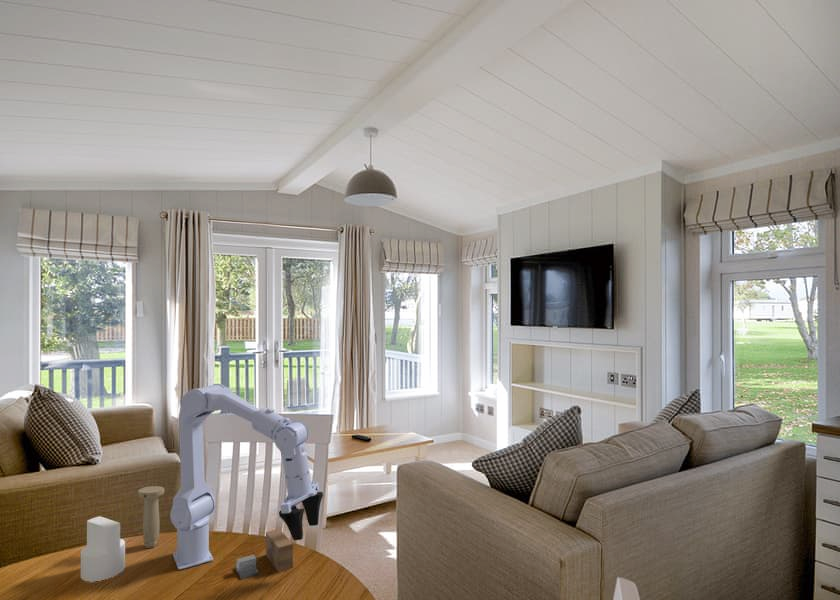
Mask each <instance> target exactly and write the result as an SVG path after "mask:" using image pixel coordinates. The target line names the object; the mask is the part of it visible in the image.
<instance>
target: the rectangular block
mask: <svg viewBox="0 0 840 600" xmlns="http://www.w3.org/2000/svg"><path fill="white" fill-rule="evenodd" d="M293 545H294V543H293V542H292V541H291V540H290V539H289V538H288V537H287V535H286V534H285V533H284V532H283V531H282V530H281V529H280V528H277V529H272V530H269V531H266V532H265V556H266V558H267V559H268V561H270V563H271V562H272V563H271V564H272V565H274V566H273V567H274V569H276V571H277V572H278V573H282V572H284V571H288V570H291V568H292V569H293V568H294V566H293V565H294V560H293V559H294V548H293V547H294V546H293Z"/></svg>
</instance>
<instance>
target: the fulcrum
mask: <svg viewBox="0 0 840 600" xmlns="http://www.w3.org/2000/svg"><path fill="white" fill-rule="evenodd" d="M234 570H235V571H236V573H237V575H238V576H240V577H239V578H240V580H243V579H246V578H249V577H250V576H251V577H253V575H254V576H257V575H259V570H258V569H257V557H256V556H255V554H251V555H247V556H244V557H240V558H237V559H236V565H234Z"/></svg>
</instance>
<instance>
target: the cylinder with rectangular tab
mask: <svg viewBox="0 0 840 600" xmlns="http://www.w3.org/2000/svg"><path fill="white" fill-rule="evenodd" d="M124 568H126V541H125V540H124V539H123V538H121V522H118V521H115V520H112V519H109V518H107V517H103V516H96V517H92V518H90V519H88V520H86V545H85V547H83V548H82V549H81V550H80V579H81V578H82V579H83V580H85V581H90V582H89V583H96V582H95V581H99V582H102V581H101V580H104V579H107V580H109V579H108V578H110V579H112V578H115V577H116V576H118V575H120V574H121V573H123V571H124V570H125V569H124ZM120 572H121V573H120ZM119 573H120V574H119ZM117 574H118V575H117ZM115 575H116V576H115ZM114 576H115V577H114ZM111 577H112V578H111ZM93 581H94V582H93ZM104 581H105V580H104Z"/></svg>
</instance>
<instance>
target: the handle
mask: <svg viewBox="0 0 840 600" xmlns="http://www.w3.org/2000/svg"><path fill="white" fill-rule="evenodd" d="M164 494H165V487H163V486H159V485H153V486H145V487H142V488H140V489H138V491H137V496H138V497H139V498H141V499H143V503H144V504H143V517H142V536H143V545H144V547H145V549H151V548H155V547H156V546H158V545H159V536H160V527H161V526H160V524H161V523H160V522H161V520H160V511H159V509H160V507H159V498H160V497H161V496H163V495H164Z"/></svg>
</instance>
